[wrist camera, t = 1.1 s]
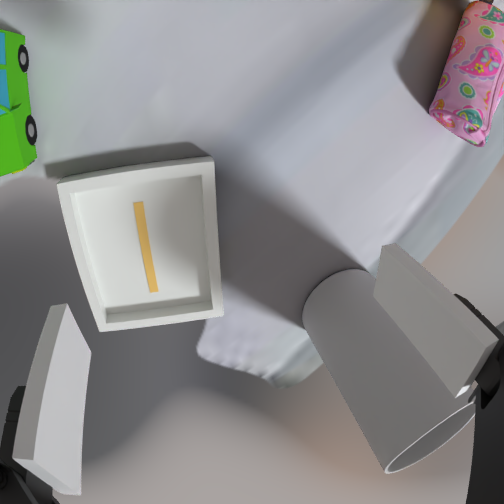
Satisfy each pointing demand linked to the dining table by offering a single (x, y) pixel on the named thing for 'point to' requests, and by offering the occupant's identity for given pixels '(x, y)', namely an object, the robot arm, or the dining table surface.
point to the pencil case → (473, 75)
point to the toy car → (15, 106)
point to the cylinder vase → (381, 372)
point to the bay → (146, 242)
